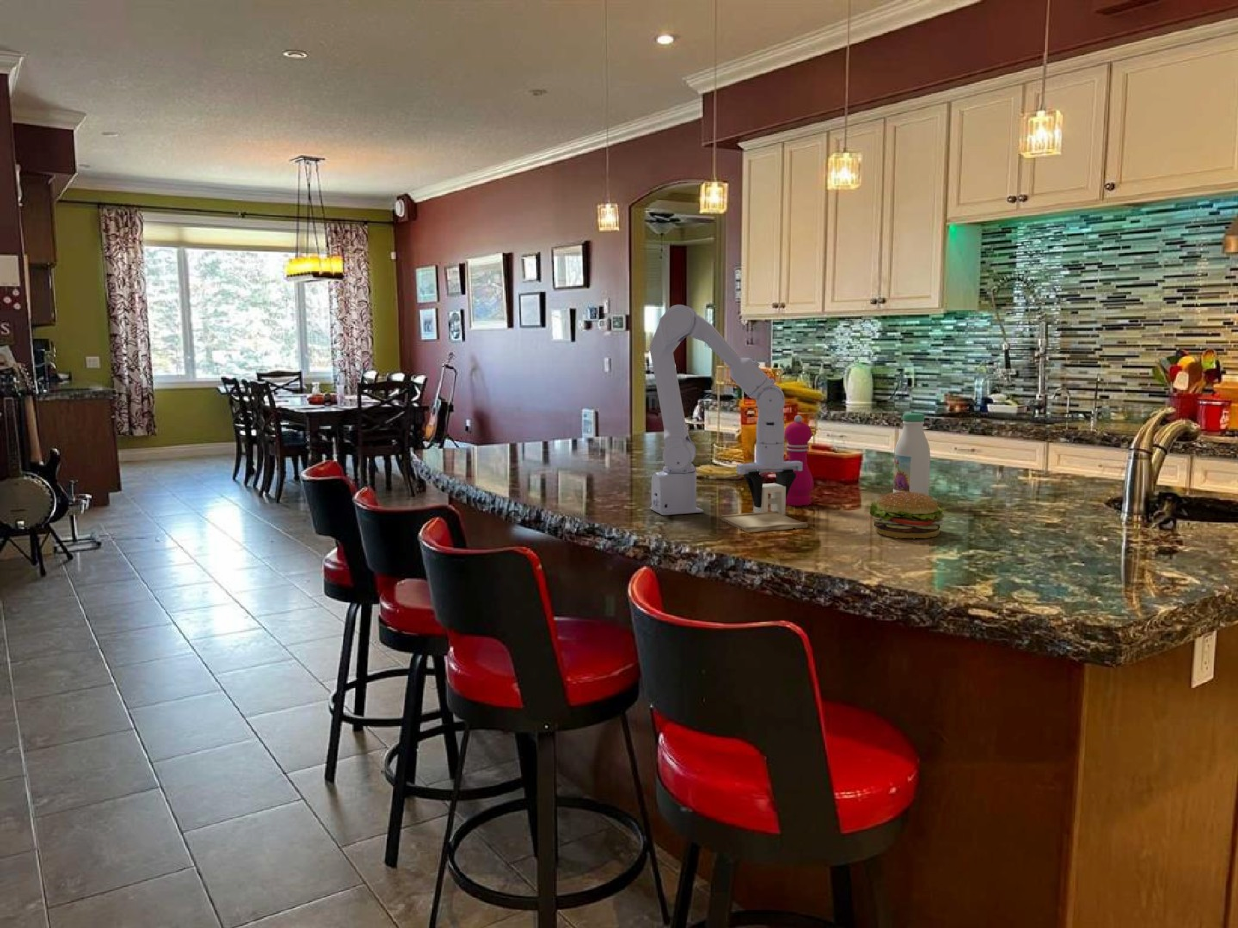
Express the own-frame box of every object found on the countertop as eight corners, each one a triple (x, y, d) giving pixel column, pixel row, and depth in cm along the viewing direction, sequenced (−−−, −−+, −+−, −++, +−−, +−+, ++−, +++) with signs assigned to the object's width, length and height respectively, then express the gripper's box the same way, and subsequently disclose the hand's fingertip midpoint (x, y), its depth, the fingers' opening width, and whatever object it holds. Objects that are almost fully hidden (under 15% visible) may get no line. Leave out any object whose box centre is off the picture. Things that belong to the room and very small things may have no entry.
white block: (763, 516, 186) (764, 488, 185) (753, 511, 191) (753, 484, 190) (785, 514, 188) (785, 486, 187) (774, 510, 192) (774, 483, 192)
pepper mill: (813, 506, 196) (815, 416, 193) (780, 506, 197) (781, 416, 195) (813, 500, 203) (814, 413, 200) (781, 500, 204) (782, 413, 202)
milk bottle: (923, 498, 204) (927, 412, 202) (932, 504, 197) (935, 415, 194) (889, 498, 205) (892, 412, 202) (896, 504, 198) (899, 415, 195)
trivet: (747, 532, 171) (747, 527, 171) (720, 519, 183) (720, 515, 183) (807, 527, 175) (807, 523, 175) (776, 515, 187) (776, 511, 187)
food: (951, 529, 172) (953, 489, 171) (937, 544, 160) (938, 500, 159) (880, 522, 179) (881, 484, 178) (861, 536, 167) (862, 494, 166)
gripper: (747, 446, 181) (746, 511, 183) (810, 443, 186) (808, 506, 187) (732, 442, 188) (732, 505, 190) (793, 439, 192) (792, 501, 194)
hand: (769, 505), depth 189 cm, fingers closed on white block, 5 cm apart
